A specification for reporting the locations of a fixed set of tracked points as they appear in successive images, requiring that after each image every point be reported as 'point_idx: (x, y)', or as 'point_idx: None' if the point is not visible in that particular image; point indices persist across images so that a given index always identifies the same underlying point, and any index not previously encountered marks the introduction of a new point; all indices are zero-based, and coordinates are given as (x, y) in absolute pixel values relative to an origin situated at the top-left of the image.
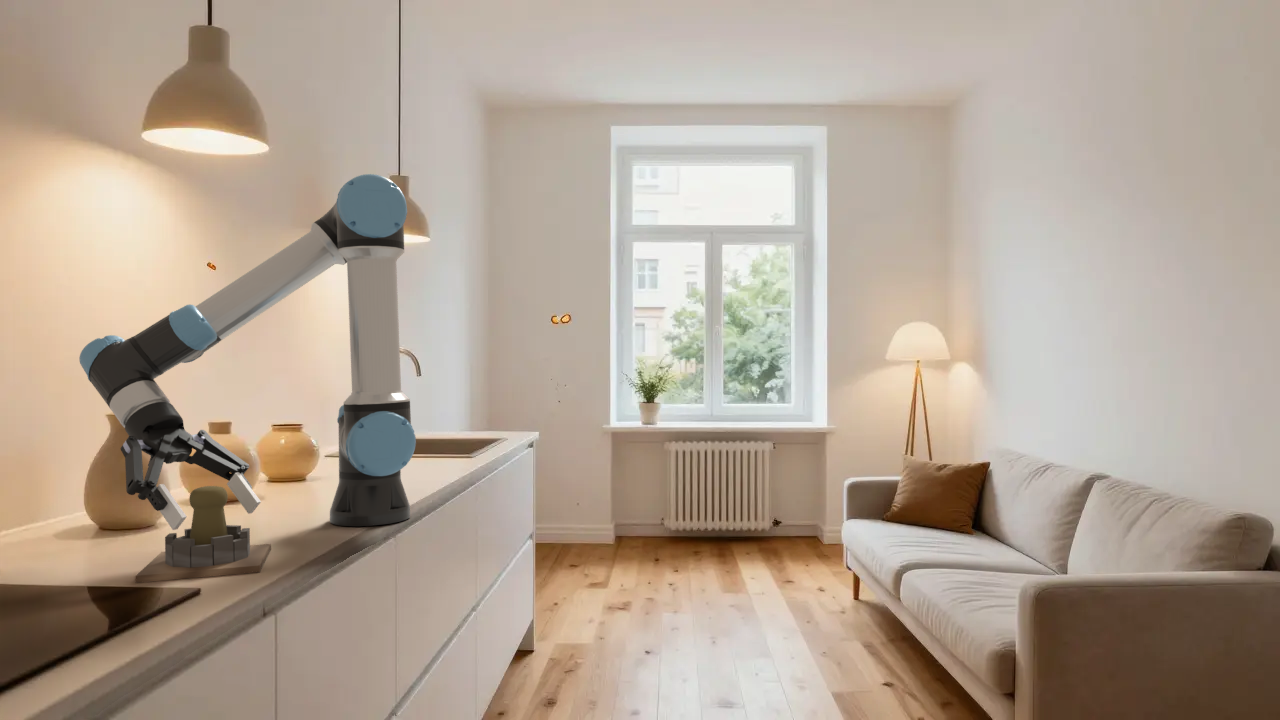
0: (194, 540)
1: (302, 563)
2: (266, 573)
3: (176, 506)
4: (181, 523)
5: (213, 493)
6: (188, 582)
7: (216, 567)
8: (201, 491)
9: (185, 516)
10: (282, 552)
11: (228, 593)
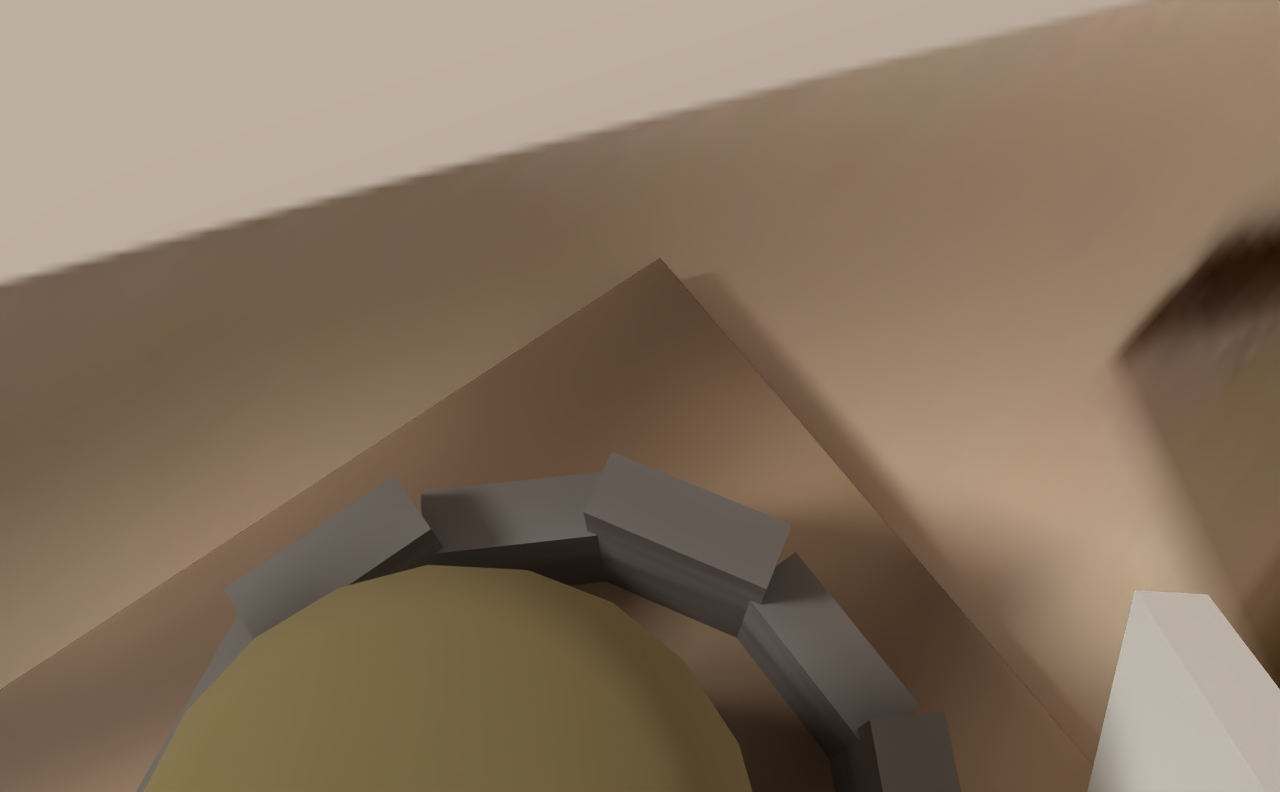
0: (868, 722)
1: (365, 189)
2: (669, 223)
3: (1274, 723)
4: (1113, 703)
5: (590, 604)
6: (1053, 554)
7: (809, 519)
8: (700, 782)
9: (1158, 591)
10: (28, 582)
11: (1130, 105)
